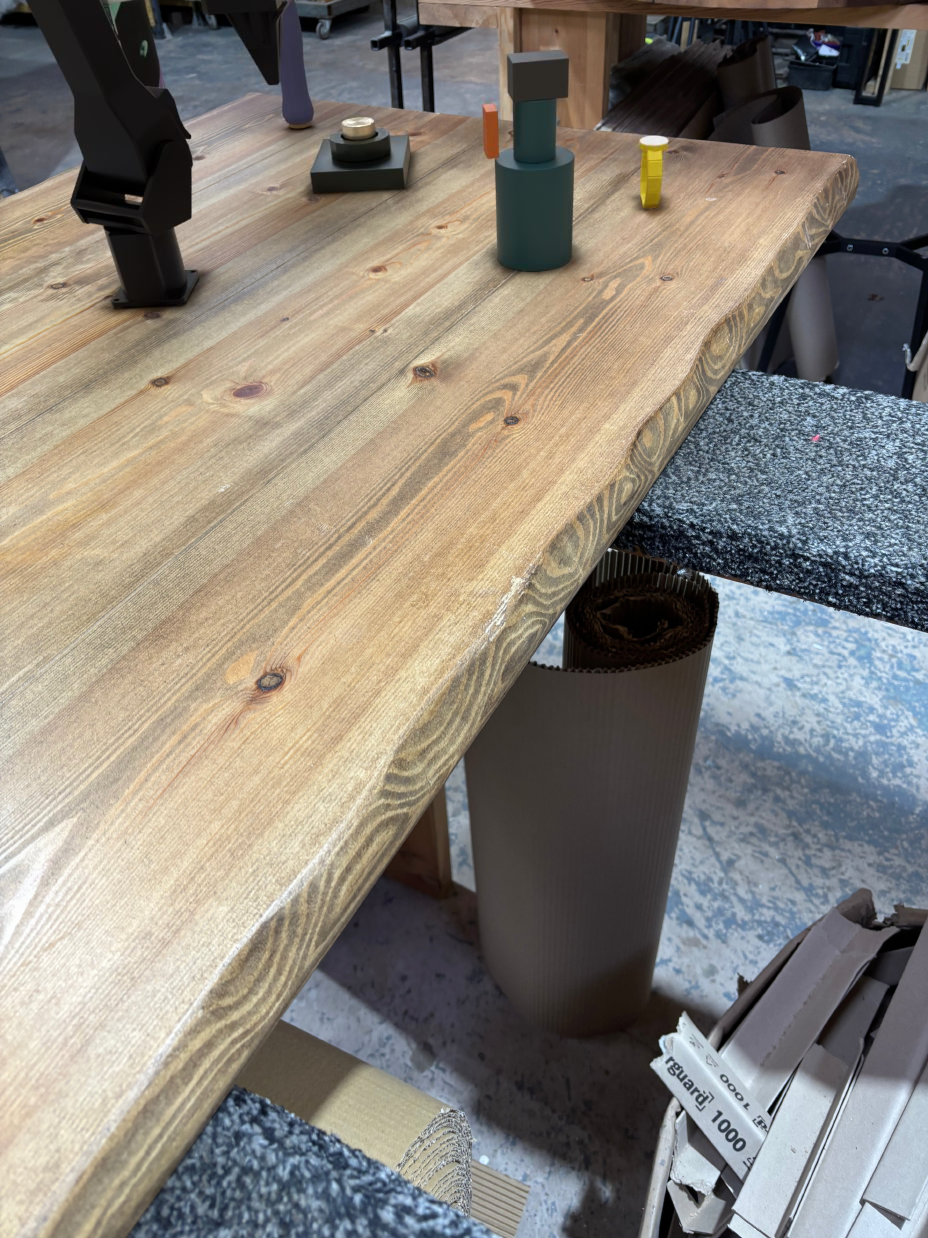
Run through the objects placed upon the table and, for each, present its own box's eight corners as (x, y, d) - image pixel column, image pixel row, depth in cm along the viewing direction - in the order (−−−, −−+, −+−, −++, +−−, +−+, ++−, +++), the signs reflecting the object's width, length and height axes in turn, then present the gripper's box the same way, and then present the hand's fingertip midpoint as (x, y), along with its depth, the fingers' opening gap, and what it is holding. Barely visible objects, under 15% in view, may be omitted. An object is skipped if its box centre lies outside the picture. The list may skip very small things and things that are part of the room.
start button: (374, 142, 101) (372, 125, 100) (341, 144, 101) (339, 127, 100) (377, 133, 104) (375, 115, 102) (345, 134, 104) (343, 117, 103)
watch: (631, 193, 96) (636, 130, 92) (659, 192, 95) (664, 129, 91) (637, 214, 91) (642, 149, 87) (666, 213, 91) (672, 148, 87)
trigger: (487, 158, 78) (485, 111, 75) (483, 150, 80) (482, 103, 77) (499, 157, 78) (498, 110, 75) (495, 149, 80) (494, 102, 77)
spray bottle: (502, 274, 82) (497, 69, 72) (492, 245, 87) (486, 49, 76) (578, 267, 83) (585, 62, 72) (564, 238, 88) (568, 43, 77)
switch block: (405, 189, 100) (401, 149, 98) (313, 193, 101) (306, 154, 98) (410, 154, 109) (407, 116, 106) (326, 158, 109) (320, 121, 107)
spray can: (175, 163, 111) (125, -40, 98) (130, 165, 111) (74, -37, 98) (186, 149, 115) (140, -48, 102) (143, 151, 115) (90, -45, 102)
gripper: (320, -123, 70) (348, 106, 81) (345, -142, 84) (367, 55, 95) (175, -113, 71) (222, 113, 81) (224, -134, 85) (258, 62, 95)
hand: (274, 83), depth 88 cm, fingers closed
